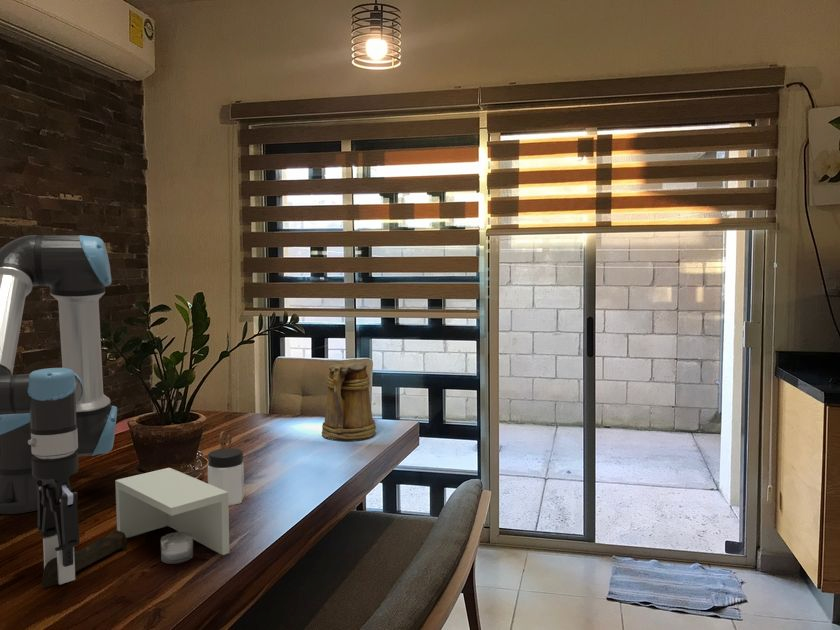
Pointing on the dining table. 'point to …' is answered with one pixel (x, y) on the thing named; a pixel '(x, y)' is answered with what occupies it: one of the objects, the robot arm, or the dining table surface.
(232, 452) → the jar
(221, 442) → the gingerbread man figurine
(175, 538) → the steel puck
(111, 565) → the dining table surface
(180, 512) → the low shelf
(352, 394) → the tankard
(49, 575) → the hand tool
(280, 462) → the dining table surface
